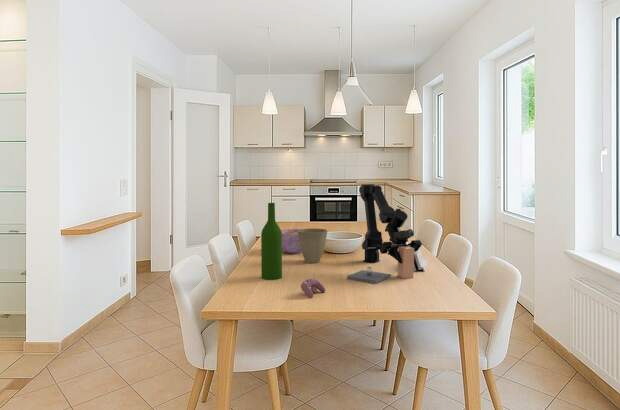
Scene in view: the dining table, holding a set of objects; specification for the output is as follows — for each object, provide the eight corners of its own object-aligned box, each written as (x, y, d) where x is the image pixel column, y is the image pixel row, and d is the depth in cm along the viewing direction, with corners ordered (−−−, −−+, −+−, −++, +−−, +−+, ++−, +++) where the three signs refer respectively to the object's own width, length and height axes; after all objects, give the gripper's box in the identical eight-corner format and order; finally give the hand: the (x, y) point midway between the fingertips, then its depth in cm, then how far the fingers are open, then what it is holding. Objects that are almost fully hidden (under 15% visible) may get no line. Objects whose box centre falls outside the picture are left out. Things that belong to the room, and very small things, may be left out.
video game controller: (318, 294, 188) (311, 278, 189) (327, 291, 185) (320, 274, 186) (303, 300, 180) (297, 283, 181) (312, 297, 177) (305, 279, 178)
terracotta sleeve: (397, 275, 212) (398, 246, 211) (407, 275, 214) (408, 246, 213) (403, 278, 208) (404, 248, 206) (413, 277, 209) (414, 248, 208)
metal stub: (366, 275, 208) (366, 267, 208) (368, 274, 210) (368, 267, 209) (370, 275, 207) (370, 268, 207) (372, 275, 209) (372, 267, 208)
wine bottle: (272, 273, 215) (272, 201, 212) (286, 277, 209) (286, 203, 206) (257, 277, 209) (256, 202, 206) (270, 281, 202) (270, 204, 199)
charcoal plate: (347, 278, 207) (347, 276, 207) (362, 272, 218) (362, 269, 218) (376, 283, 199) (376, 280, 199) (390, 276, 210) (390, 274, 210)
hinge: (424, 271, 220) (417, 251, 220) (414, 274, 222) (407, 254, 222) (427, 264, 236) (421, 245, 236) (418, 266, 238) (411, 247, 238)
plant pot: (326, 258, 249) (326, 228, 247) (328, 264, 234) (328, 232, 233) (297, 258, 248) (297, 228, 247) (297, 264, 234) (297, 232, 232)
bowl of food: (278, 248, 276) (278, 228, 275) (313, 249, 274) (313, 229, 273) (272, 255, 256) (272, 234, 255) (309, 256, 254) (310, 234, 253)
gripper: (383, 223, 209) (394, 253, 200) (420, 222, 215) (433, 250, 206) (374, 238, 217) (385, 267, 208) (410, 236, 223) (423, 265, 214)
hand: (407, 262), depth 209 cm, fingers closed on terracotta sleeve, 5 cm apart
